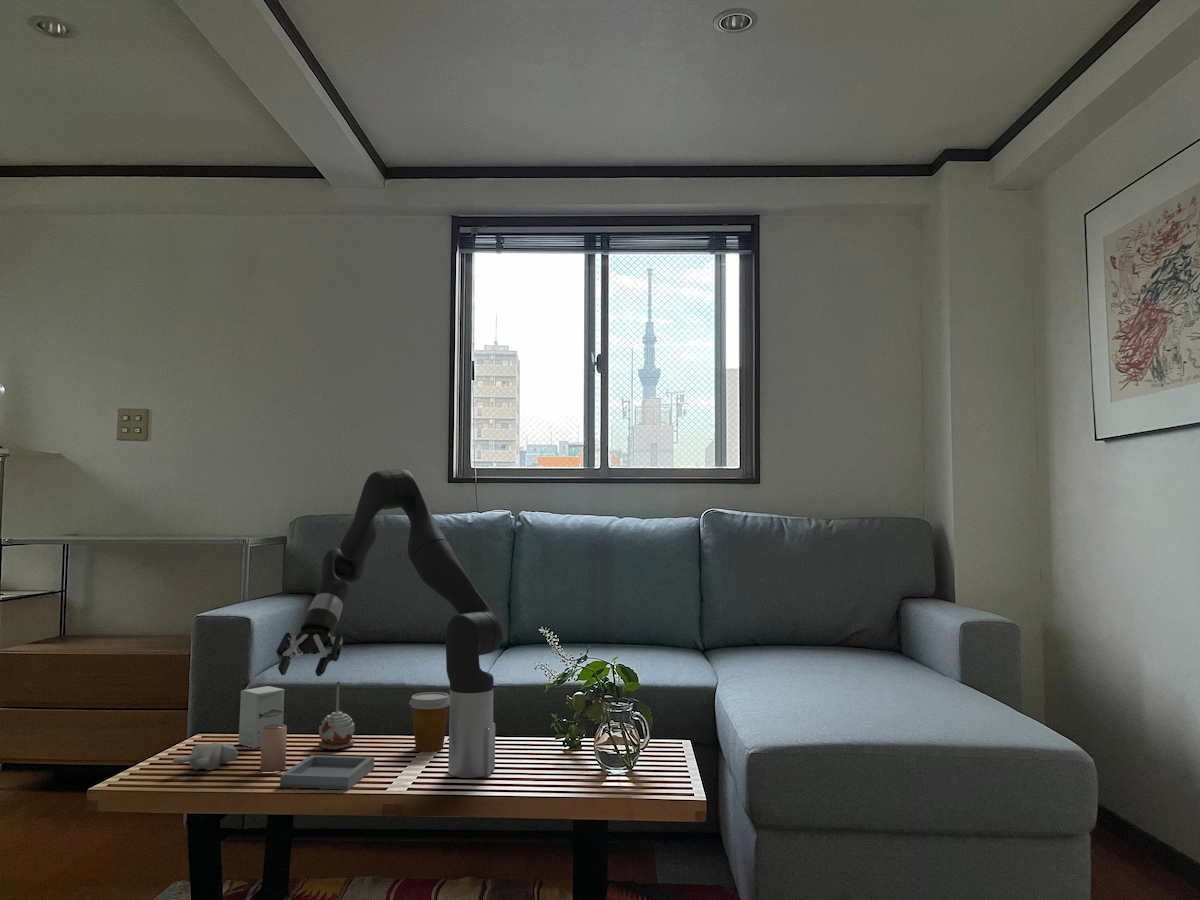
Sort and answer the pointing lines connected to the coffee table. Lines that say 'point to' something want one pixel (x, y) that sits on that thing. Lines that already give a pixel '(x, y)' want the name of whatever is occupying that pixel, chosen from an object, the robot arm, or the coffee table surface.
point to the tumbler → (273, 748)
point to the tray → (327, 772)
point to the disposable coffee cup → (429, 720)
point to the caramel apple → (336, 729)
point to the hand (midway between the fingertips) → (299, 673)
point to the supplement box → (259, 713)
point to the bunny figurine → (209, 756)
